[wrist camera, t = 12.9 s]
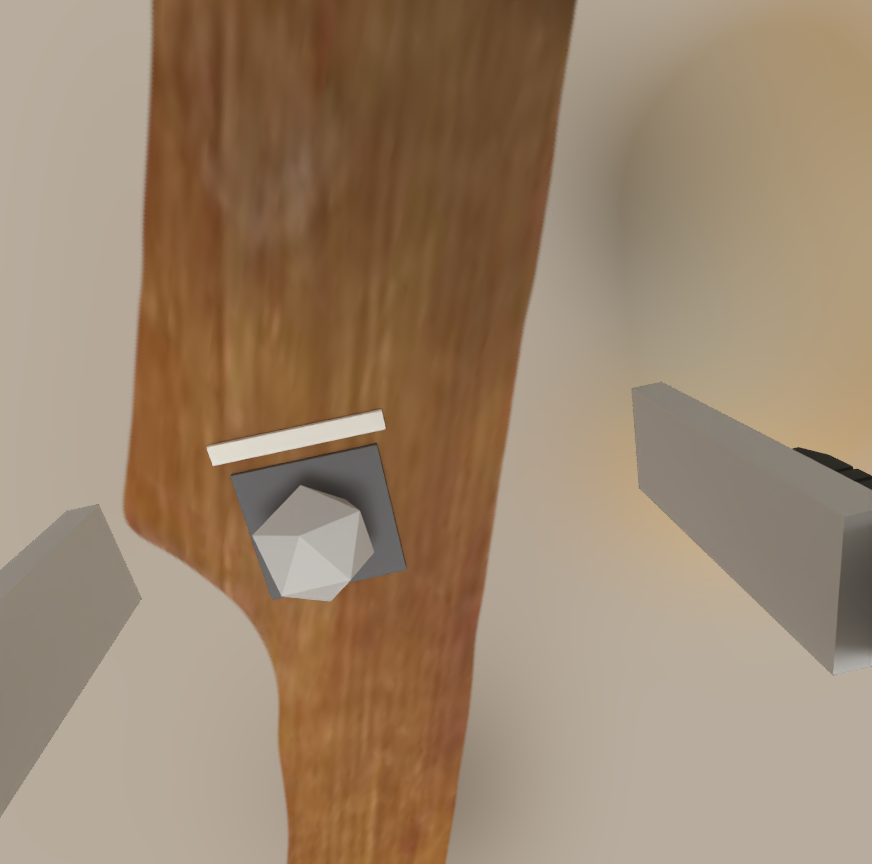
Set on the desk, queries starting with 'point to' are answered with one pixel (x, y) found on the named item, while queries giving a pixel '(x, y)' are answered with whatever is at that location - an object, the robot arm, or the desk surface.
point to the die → (313, 544)
